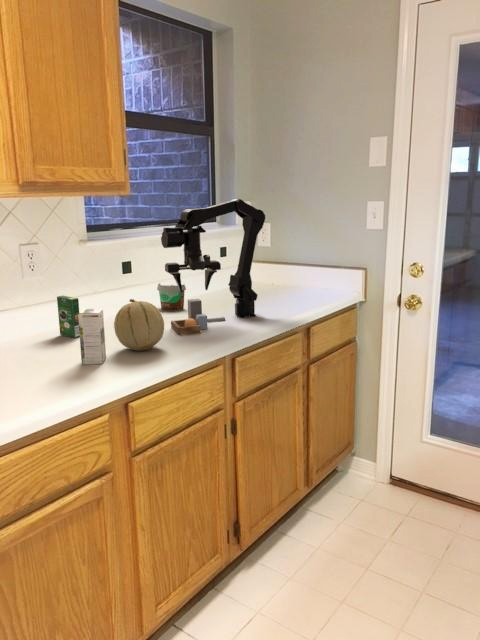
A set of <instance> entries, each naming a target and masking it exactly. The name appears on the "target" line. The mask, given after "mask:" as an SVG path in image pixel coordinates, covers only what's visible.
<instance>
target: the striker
mask: <svg viewBox="0 0 480 640" xmlns="http://www.w3.org/2000/svg"><path fill="white" fill-rule="evenodd" d="M187 315H188V316H187V319H189V318H192V319H194V320H195V321H196V324H197V325H200V327H201V330H206V329H208V322H207V319H208V314H205V313H203V307H202V300H201V299H199V298H192V299H187Z"/></svg>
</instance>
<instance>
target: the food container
mask: <svg viewBox="0 0 480 640" xmlns="http://www.w3.org/2000/svg"><path fill="white" fill-rule="evenodd" d="M181 286H182V292H180V290H179V288H178V285H174V284H170V285H169V284H167V285H161V282H159V283H158V284H157V286H156V287H157V288H156V290H157V291H158V293H159V294H158V295H159V300H160V307H161V310H162V311H168V312H169V311H181V310H184V308H185V307H184V306H185V291H186V290H187V289H186V288H187V287H186V285H185V283H184V284H181Z"/></svg>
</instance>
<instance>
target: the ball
mask: <svg viewBox="0 0 480 640" xmlns="http://www.w3.org/2000/svg"><path fill="white" fill-rule="evenodd" d="M186 319H187V320H186V321H185V326H195V325H197V323H196V321H195V320H194V319H192V318H189V319H188V318H186Z"/></svg>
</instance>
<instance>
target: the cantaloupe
mask: <svg viewBox="0 0 480 640" xmlns="http://www.w3.org/2000/svg"><path fill="white" fill-rule="evenodd" d="M129 302H130V303H127V304H125V305H123V306H122V307H120V309H119V310H118V311H117V313H116V315H115V317H114V322H113V328H114V334H115V336H116V339H118V341H119V343H120V344H121V345H122V346H124V347H125V348H127V349H129V350H133V351H139V352H140V351H142V352H145V351H146V350H148V349H151V348H152V347H155V346H156V345H157V344H158V343H159V342H160V341H161V340H162V339H163V335H164V332H165V320H164V317H163V315H162V313H161V311H160V310H159V309H158V308H157V307H156V306H155V305H154V304H153V303H151V302H148V301H144V300H143V301H142V300H141V301H139V300H138V301H137V300H135V299H133V298H130V299H129Z"/></svg>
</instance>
